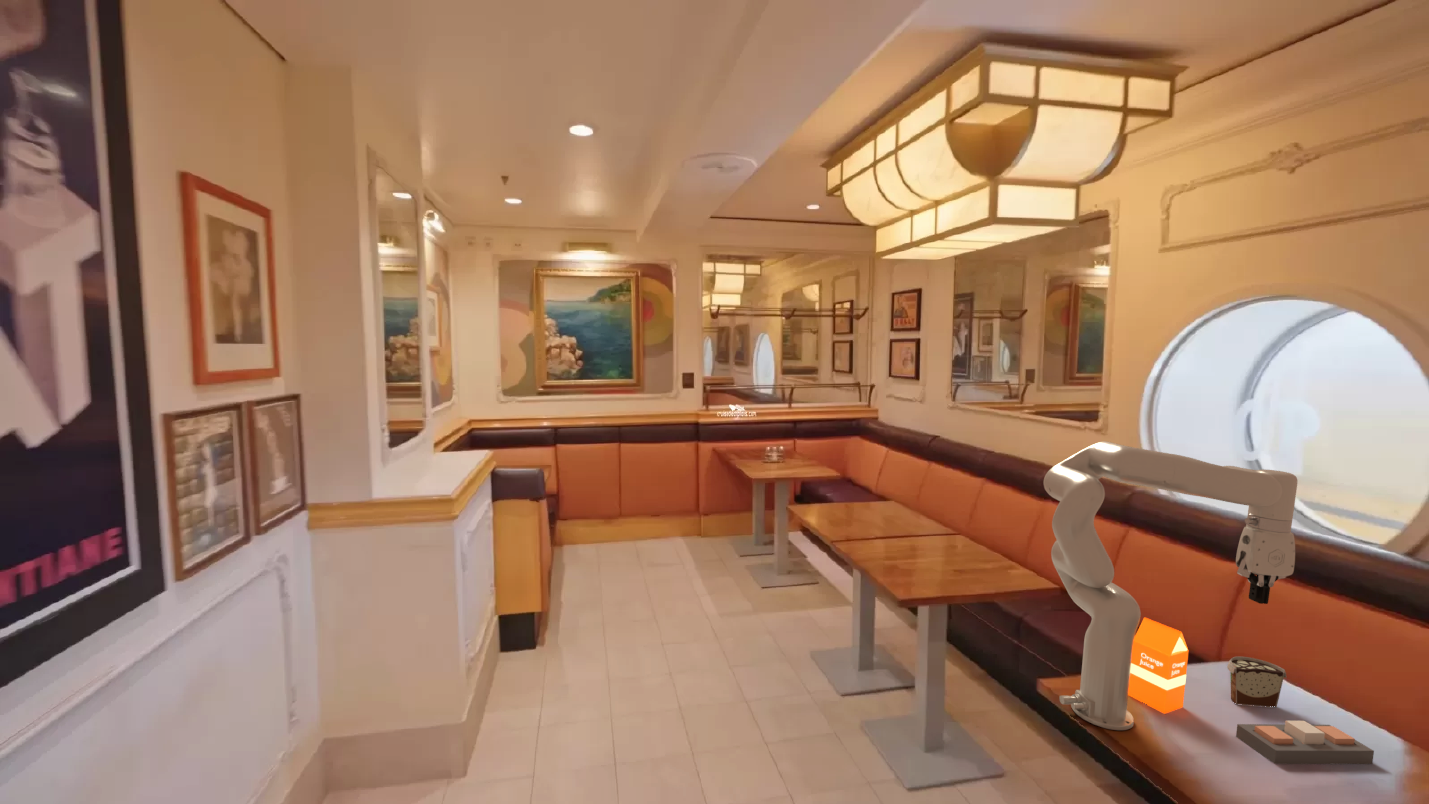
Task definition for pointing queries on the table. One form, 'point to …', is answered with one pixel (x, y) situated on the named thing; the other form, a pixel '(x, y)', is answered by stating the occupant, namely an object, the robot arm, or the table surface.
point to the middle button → (1304, 732)
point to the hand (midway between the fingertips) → (1258, 601)
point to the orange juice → (1158, 666)
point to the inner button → (1273, 735)
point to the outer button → (1336, 735)
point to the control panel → (1304, 749)
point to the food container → (1255, 681)
